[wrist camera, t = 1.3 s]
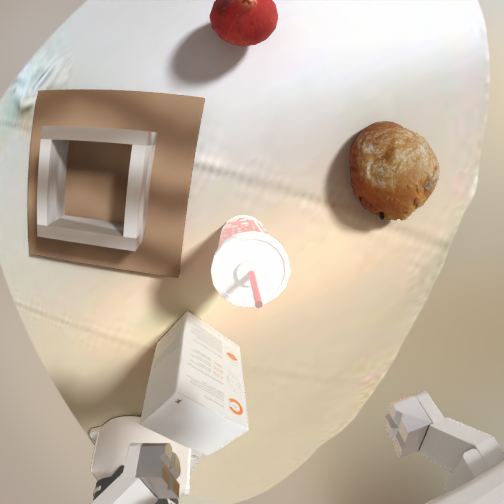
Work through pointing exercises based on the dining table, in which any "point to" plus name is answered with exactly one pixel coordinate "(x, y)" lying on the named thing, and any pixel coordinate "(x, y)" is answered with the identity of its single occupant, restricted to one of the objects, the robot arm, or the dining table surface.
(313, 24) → the dining table surface
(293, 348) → the dining table surface
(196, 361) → the small box
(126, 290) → the dining table surface
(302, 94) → the dining table surface
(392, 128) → the bread roll
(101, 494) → the robot arm
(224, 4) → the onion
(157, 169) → the walnut board
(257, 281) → the beverage cup
